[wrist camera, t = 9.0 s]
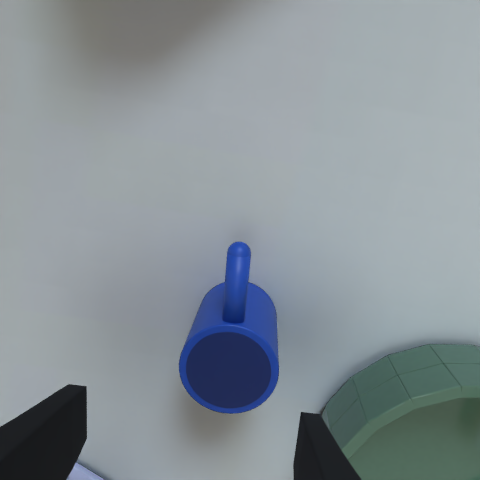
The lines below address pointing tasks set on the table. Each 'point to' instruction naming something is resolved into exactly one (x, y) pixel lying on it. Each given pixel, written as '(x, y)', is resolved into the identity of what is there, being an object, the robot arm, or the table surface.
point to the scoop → (232, 342)
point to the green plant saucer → (412, 415)
